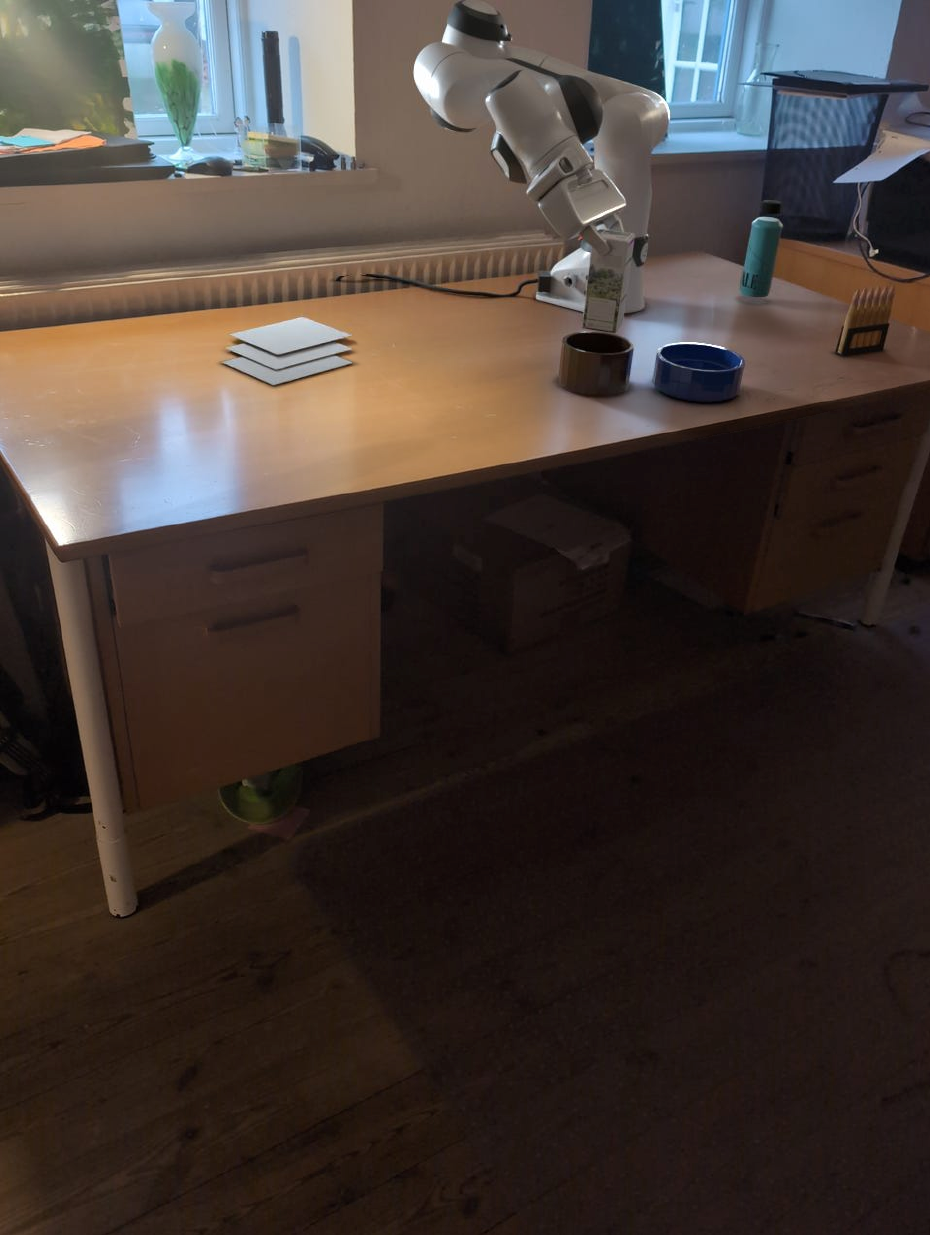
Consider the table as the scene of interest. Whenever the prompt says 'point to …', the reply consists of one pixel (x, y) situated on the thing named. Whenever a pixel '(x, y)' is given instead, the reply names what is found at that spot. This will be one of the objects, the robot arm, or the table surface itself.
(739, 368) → the bowl
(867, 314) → the ammunition clip
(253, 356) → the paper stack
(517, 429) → the table surface
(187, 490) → the table surface
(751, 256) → the beverage bottle
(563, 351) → the cup
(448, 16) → the robot arm
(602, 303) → the syrup box
